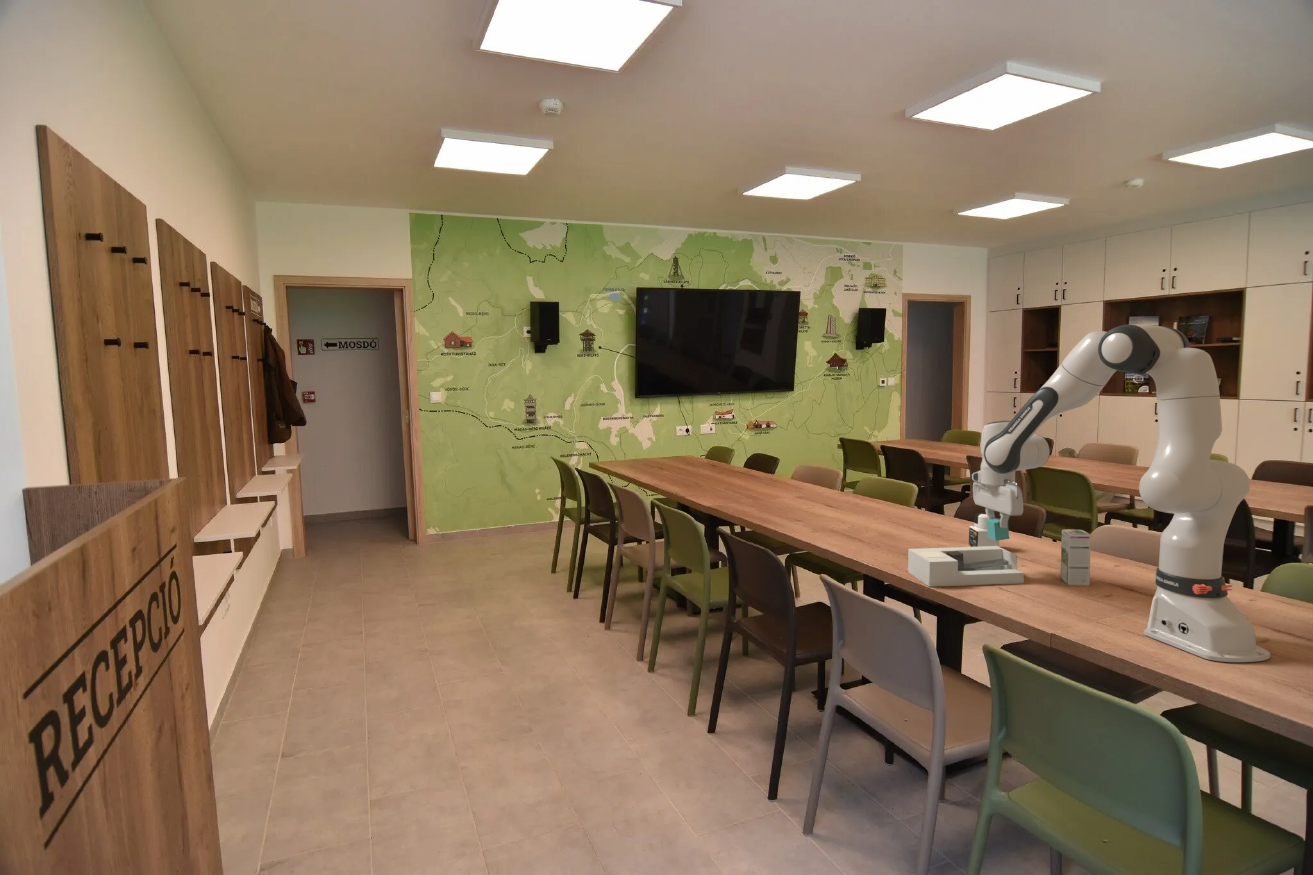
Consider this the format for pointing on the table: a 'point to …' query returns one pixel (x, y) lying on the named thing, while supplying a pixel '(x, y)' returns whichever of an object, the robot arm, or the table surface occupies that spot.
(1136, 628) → the table surface
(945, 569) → the pocket board
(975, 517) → the medicine bottle
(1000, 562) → the ejector lever
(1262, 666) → the table surface
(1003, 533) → the teal block
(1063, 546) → the syrup box
